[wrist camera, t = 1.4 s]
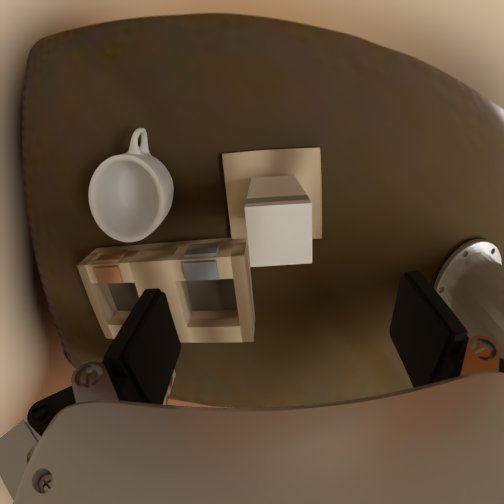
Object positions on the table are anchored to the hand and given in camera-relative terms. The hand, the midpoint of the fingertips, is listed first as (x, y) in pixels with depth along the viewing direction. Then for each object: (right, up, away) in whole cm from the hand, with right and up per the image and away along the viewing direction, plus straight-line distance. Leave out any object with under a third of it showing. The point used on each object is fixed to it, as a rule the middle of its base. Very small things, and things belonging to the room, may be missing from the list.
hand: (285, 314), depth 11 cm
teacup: (-12, +10, +16) cm, 22 cm away
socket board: (-10, -1, +21) cm, 23 cm away
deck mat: (+1, +8, +16) cm, 18 cm away
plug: (+1, +7, +16) cm, 18 cm away
